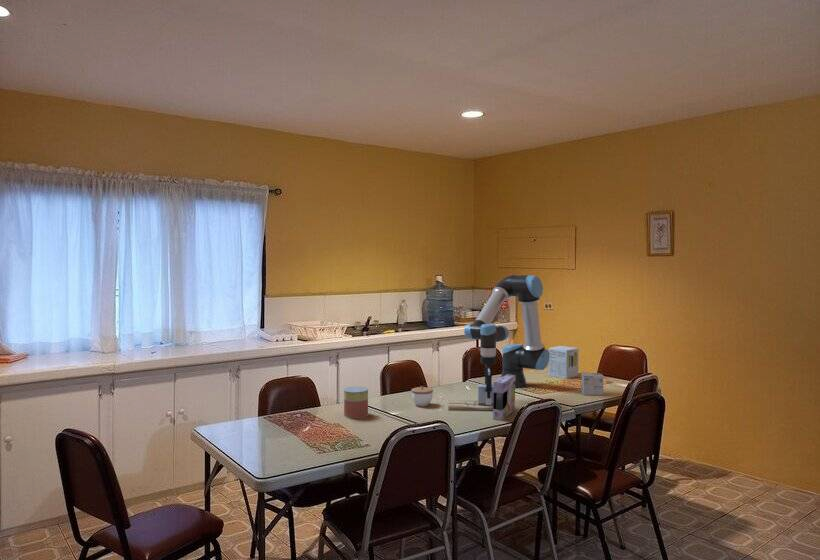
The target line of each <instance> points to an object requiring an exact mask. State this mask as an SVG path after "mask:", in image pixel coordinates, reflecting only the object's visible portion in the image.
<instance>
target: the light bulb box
mask: <svg viewBox="0 0 820 560" xmlns="http://www.w3.org/2000/svg"><path fill="white" fill-rule="evenodd" d="M604 388H605V387H604V375H603V374H602V373H599V372H598V373H597V372H596V373H593V372H591V373H589V372H586V373H585V372H581V394H582V393H583V394H582V395H583V396H604V395H605V394H604V393H605V392H604Z"/></svg>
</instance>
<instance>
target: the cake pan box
mask: <svg viewBox="0 0 820 560" xmlns="http://www.w3.org/2000/svg"><path fill="white" fill-rule="evenodd" d="M515 377H516V375H511V374H507V375H505V376H503V377H501V376H500V377H499V378H498V379H496V380H494V381H493V385H494V392H493V411H492V420H495V419H498V420H497V421H503V420H504V419H505V418H507V417H508V416H509V415H511V414H512V413H514V411H515V404H516V400H515V399H516V387H515ZM502 419H503V420H502Z"/></svg>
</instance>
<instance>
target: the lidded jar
mask: <svg viewBox="0 0 820 560" xmlns="http://www.w3.org/2000/svg"><path fill="white" fill-rule="evenodd" d="M410 390H411V398H412V399H411V400H412V402H413V403H414V404H415V405H416V406H417V407H428V406H429V404H430V403H431V402H432V400H433V397H434V396H433V395H434V394H433V392H434V389H433V388H431V387H429V386H427V387H426V386H425V387H424V386H423V385H420V386H419V387H418V386H417V387H414V388H411V389H410Z"/></svg>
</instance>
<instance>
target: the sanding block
mask: <svg viewBox="0 0 820 560" xmlns="http://www.w3.org/2000/svg"><path fill="white" fill-rule="evenodd" d="M485 390H486V385H485V383H484V384H477V401H478V405H486V392H485ZM493 392H494V384H492V391H491V405H493Z"/></svg>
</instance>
